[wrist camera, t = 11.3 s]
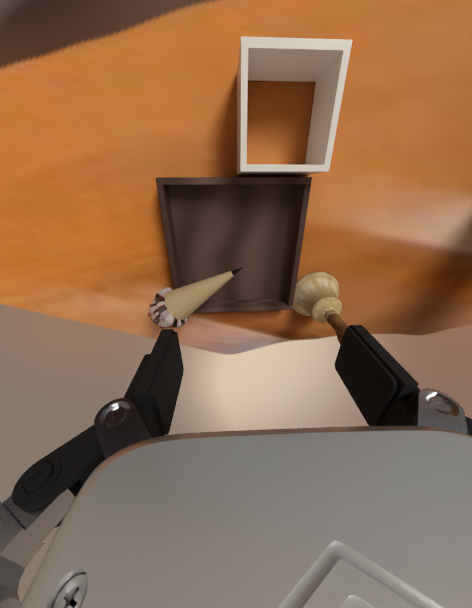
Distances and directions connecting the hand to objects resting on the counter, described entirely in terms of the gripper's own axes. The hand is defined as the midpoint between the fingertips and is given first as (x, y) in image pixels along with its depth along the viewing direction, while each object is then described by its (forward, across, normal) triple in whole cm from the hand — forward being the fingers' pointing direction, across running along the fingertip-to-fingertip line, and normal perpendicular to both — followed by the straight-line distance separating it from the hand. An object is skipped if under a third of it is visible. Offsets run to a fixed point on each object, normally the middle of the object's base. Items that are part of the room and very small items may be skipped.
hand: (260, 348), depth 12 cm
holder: (+22, -4, -14) cm, 27 cm away
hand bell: (+23, -13, +8) cm, 27 cm away
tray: (+22, +1, 0) cm, 22 cm away
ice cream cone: (+16, 0, +1) cm, 16 cm away
